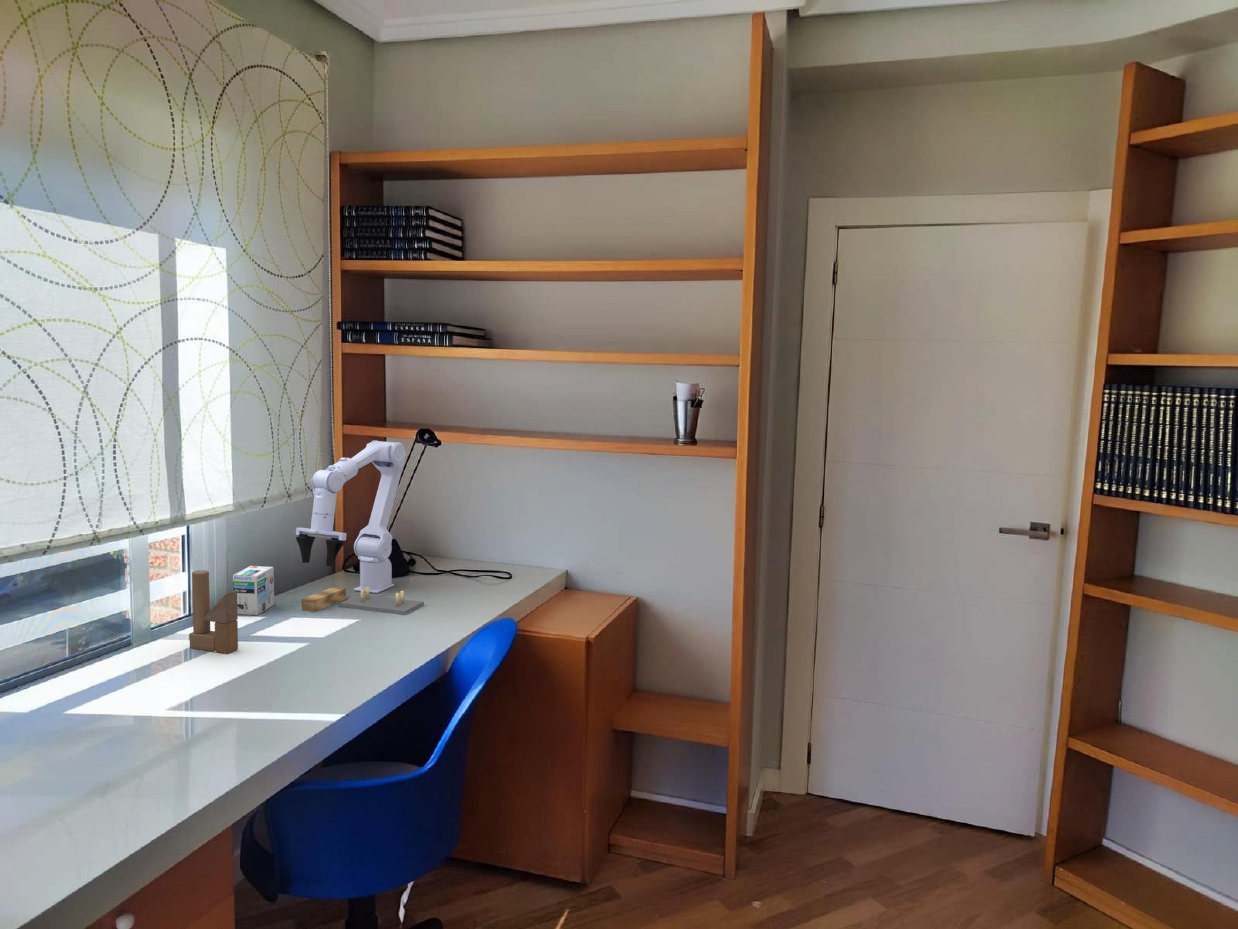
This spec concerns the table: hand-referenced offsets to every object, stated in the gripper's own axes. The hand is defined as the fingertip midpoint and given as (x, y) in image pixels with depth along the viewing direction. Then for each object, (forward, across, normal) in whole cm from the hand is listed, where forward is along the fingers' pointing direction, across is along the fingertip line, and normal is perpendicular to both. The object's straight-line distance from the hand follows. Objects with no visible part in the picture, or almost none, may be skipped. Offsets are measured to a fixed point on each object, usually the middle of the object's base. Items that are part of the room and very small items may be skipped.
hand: (317, 564), depth 229 cm
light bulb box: (+14, -14, -6) cm, 20 cm away
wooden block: (+18, -1, -34) cm, 39 cm away
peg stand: (+10, +15, +10) cm, 21 cm away
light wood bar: (+12, 0, +5) cm, 13 cm away
